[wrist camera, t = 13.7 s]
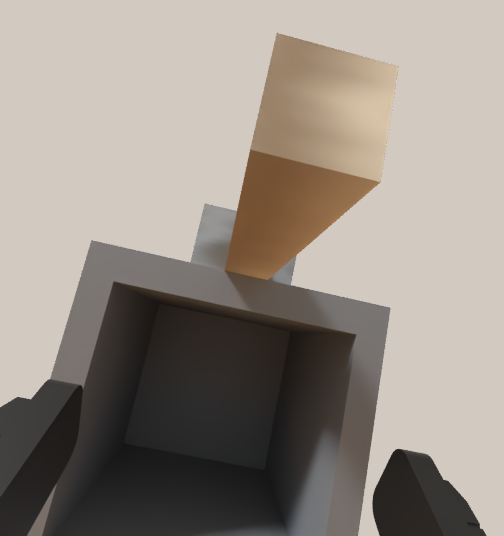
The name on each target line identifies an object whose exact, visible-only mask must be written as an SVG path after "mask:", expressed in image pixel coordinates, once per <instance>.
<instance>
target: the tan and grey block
mask: <svg viewBox="0 0 504 536" xmlns="http://www.w3.org/2000/svg"><path fill="white" fill-rule="evenodd" d="M398 67H399V66H396V65H392V64H388V63H385V62H381V61H378V60H374V59H370V58H367V57H363V56H359V55H356V54H352V53H348V52H345V51H341V50H337V49H334V48H330V47H326V46H323V45H318V44H315V43H312V42H308V41H304V40H301V39H297V38H293V37H290V36H286V35H282V34H278V33H277V35H276V40H275V44H274V48H273V53H272V57H271V61H270V65H269V70H268V74H267V79H266V83H265V87H264V92H263V96H262V100H261V105H260V109H259V114H258V118H257V122H256V127H255V131H254V135H253V140H252V145H251V149H250V153H249V158H248V163H247V167H246V172H245V177H244V181H243V186H242V191H241V195H240V200H239V205H238V209H237V211H234V210H230V209H226V208H221V207H217V206H213V205H209V204H205V205H204V209H203V213H202V217H201V221H200V226H199V229H198V233H197V238H196V242H195V246H194V250H193V255H192V258H191V262H190V263H194V264H198V265H203V266H207V267H212V268H216V269H220V270H225V271H229V272H234V273H238V274H243V275H247V276H251V277H256V278H260V279H265V280H269V281H274V282H278V283H282V284H287V285H291V280H292V275H293V270H294V265H295V260H296V255H297V254H298V253H299V252H300V251H302V250H303V249H304V248H305V247H306V246H307V245H309V244H310V243H311V242H312V241H313V240H314V239H315V238H317V237H318V236H319V235H320V234H321V233H322V232H323V231H325V230H326V229H327V228H328V227H329V226H330V225H332V223H334V222H335V221H336V220H337V219H339V218H340V217H341V216H342V215H343V214H344V213H345V212H347V211H348V210H349V209H350V208H351V207H352V206H353V205H354V204H356V203H357V202H358V201H359V200H360V199H362V198H363V197H364V196H365V195H366V194H367V193H368V192H369V191H371V190H372V189H373V188H374V187H375V186H377V185H378V184H379V183H380V182H381V176H382V169H383V163H384V156H385V150H386V144H387V137H388V130H389V124H390V118H391V111H392V104H393V99H394V92H395V86H396V80H397V73H398Z"/></svg>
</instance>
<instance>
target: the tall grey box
mask: <svg viewBox="0 0 504 536" xmlns="http://www.w3.org/2000/svg"><path fill="white" fill-rule="evenodd" d="M389 314H390V308H389V307H384V306H379V305H376V304H371V303H367V302H362V301H357V300H353V299H349V298H345V297H340V296H336V295H331V294H327V293H322V292H318V291H313V290H309V289H304V288H300V287H296V286H291V285H287V284H282V283H278V282H274V281H269V280H265V279H260V278H256V277H251V276H247V275H243V274H238V273H234V272H229V271H225V270H220V269H216V268H212V267H207V266H203V265H198V264H194V263H189V262H185V261H181V260H176V259H172V258H167V257H162V256H158V255H154V254H149V253H145V252H141V251H136V250H132V249H127V248H123V247H118V246H114V245H110V244H105V243H101V242H96V241H91V244H90V247H89V251H88V254H87V257H86V261H85V264H84V267H83V271H82V274H81V278H80V281H79V284H78V288H77V291H76V294H75V298H74V301H73V305H72V308H71V311H70V314H69V318H68V321H67V325H66V328H65V331H64V335H63V338H62V341H61V345H60V348H59V351H58V355H57V358H56V361H55V365H54V368H53V371H52V375H51V379H52V380H57V381H63V382H68V383H73V384H78V385H82V387H83V395H82V405H81V415H80V425H79V434H78V438H77V442H76V445H75V448H74V451H73V454H72V456H71V458H70V460H69V462H68V464H67V466H66V467H65V469H64V471H63V473H62V474H61V476H60V478H59V480H58V482H57V483H56V485H55V487H54V489H53V490H52V492H51V494H50V496H49V498H48V499H47V501H46V503H45V505H44V506H43V508H42V510H41V512H40V514H39V515H38V517H37V519H36V521H35V522H34V524H33V526H32V528H31V530H30V531H29V533H28V535H27V536H358V531H359V524H360V516H361V510H362V503H363V496H364V489H365V482H366V475H367V468H368V461H369V454H370V447H371V440H372V433H373V426H374V419H375V412H376V404H377V398H378V391H379V383H380V376H381V369H382V363H383V356H384V349H385V341H386V335H387V328H388V321H389Z"/></svg>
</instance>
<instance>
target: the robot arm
mask: <svg viewBox="0 0 504 536" xmlns="http://www.w3.org/2000/svg"><path fill="white" fill-rule="evenodd" d="M82 395H83V387H82V385H78V384H73V383H68V382H63V381H57V380H52V379H49V380H48V381H46V382H45V383H44V385H43V386H42V387H41V388H40V389H39V391H38V392H37V393H36V394H35V395H34V397H33V398H32V399H31V400H30V399H26V398H20V397H17V398H15V399H14V400H12V401H10V402H8V403H7V404H5V405H3V406H2V407H0V536H27V535H28V533H29V531H30V530H31V528H32V526H33V524H34V522H35V521H36V519H37V517H38V515H39V514H40V512H41V510H42V508H43V506H44V505H45V503H46V501H47V499H48V498H49V496H50V494H51V492H52V490H53V489H54V487H55V485H56V483H57V482H58V480H59V478H60V476H61V474H62V473H63V471H64V469H65V467H66V466H67V464H68V462H69V460H70V458H71V456H72V454H73V451H74V448H75V445H76V442H77V438H78V434H79V425H80V415H81V405H82ZM373 515H374V518H375V522H376V525H377V529H378V532H379V535H380V536H486V534H485V532H484V531H483V529H480V524H479V522H478V520H477V519H476V517H475V515H474V513H473V512H472V510H471V508H470V507H469V505H468V503H467V501H466V500H465V499H464V498H463V497H462V496H461V495H460V494H459V493H458V491H457V490H456V489H455V488H454V487H453V486H452V485H451V484H450V483H449V481H446V480H443V478H442V476H441V475H440V473H439V471H438V469H437V467H436V466H435V464H434V462H433V460H432V459H431V457H430V456H428V455H427V454H422V453H417V452H412V451H407V450H402V449H396V450H395V451H394V452H393V453H392V455H391V457H390V459H389V461H388V463H387V466H386V468H385V470H384V472H383V474H382V476H381V478H380V480H379V482H378V484H377V486H376V488H375V491H374V495H373Z"/></svg>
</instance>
